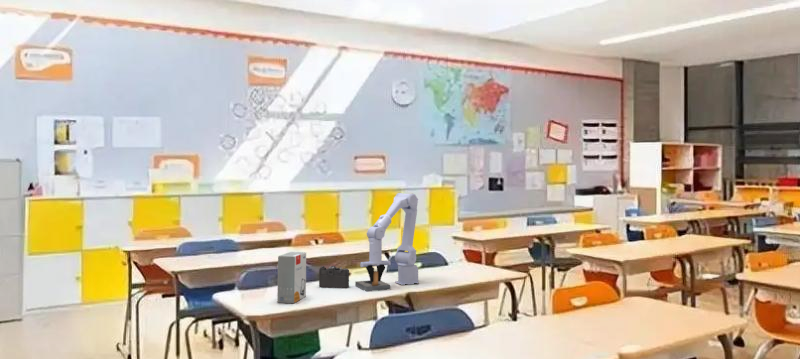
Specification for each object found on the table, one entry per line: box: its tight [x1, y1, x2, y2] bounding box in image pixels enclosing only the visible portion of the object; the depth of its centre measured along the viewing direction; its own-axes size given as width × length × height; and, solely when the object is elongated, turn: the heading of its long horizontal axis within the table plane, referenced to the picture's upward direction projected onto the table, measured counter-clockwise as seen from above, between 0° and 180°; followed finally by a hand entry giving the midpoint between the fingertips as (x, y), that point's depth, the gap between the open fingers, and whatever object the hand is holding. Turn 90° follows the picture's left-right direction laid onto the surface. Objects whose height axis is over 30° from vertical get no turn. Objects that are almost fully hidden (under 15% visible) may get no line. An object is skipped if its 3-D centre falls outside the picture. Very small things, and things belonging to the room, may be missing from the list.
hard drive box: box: [276, 251, 307, 304], centre depth 296 cm, size 16×8×20 cm, turn 168°
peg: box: [372, 270, 378, 286], centre depth 321 cm, size 3×3×8 cm
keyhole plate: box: [354, 280, 391, 292], centre depth 324 cm, size 12×14×2 cm
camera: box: [318, 265, 350, 289], centre depth 328 cm, size 14×11×10 cm
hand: (375, 281), depth 321 cm, fingers closed on peg, 3 cm apart
